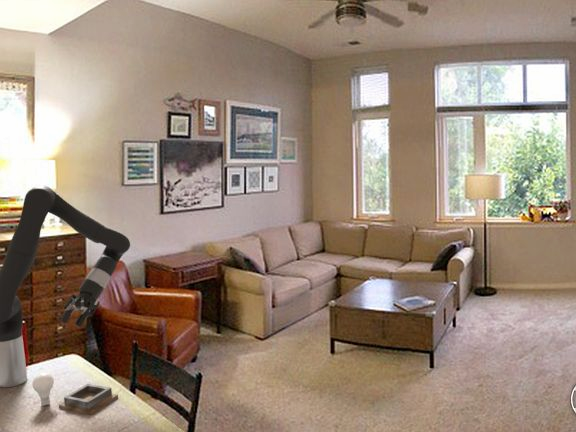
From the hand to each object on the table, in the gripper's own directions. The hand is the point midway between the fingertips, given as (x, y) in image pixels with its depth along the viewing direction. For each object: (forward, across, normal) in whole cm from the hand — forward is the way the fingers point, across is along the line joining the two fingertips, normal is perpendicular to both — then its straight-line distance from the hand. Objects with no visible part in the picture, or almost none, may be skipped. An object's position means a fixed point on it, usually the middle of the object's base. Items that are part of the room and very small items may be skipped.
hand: (69, 324), depth 176 cm
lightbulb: (+26, 0, +9) cm, 27 cm away
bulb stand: (+20, +12, +15) cm, 27 cm away
